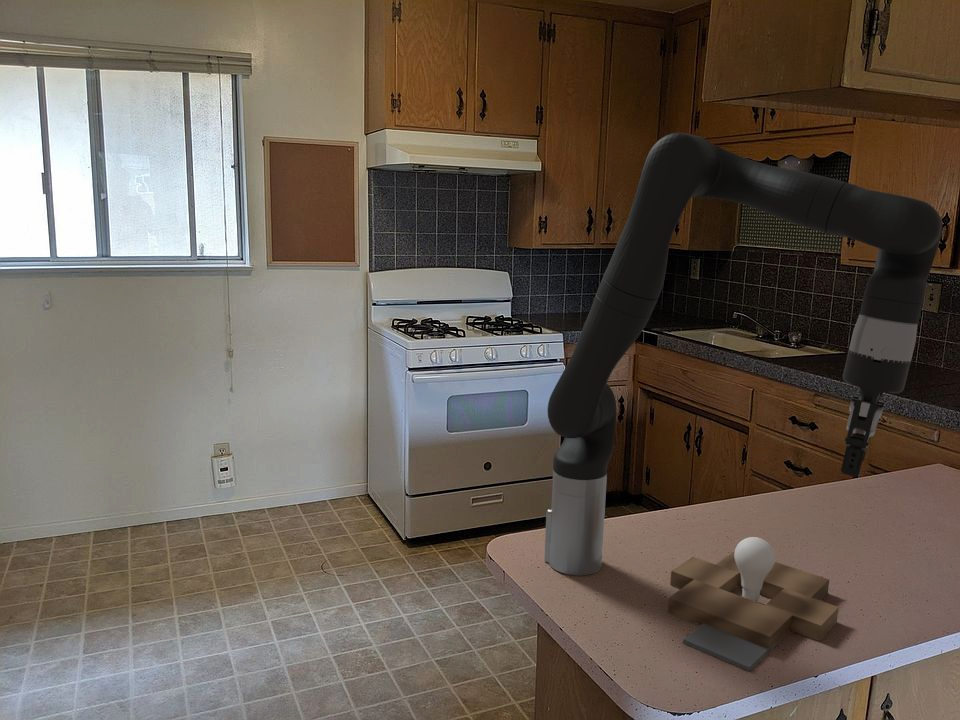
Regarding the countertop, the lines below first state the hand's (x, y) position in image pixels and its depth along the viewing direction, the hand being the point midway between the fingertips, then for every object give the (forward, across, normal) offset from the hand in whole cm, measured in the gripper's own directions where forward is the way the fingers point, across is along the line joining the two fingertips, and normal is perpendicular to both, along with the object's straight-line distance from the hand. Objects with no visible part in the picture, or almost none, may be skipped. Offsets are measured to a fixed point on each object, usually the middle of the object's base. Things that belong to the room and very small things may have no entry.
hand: (852, 467), depth 107 cm
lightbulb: (+29, -9, -10) cm, 32 cm away
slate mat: (+29, +5, -10) cm, 31 cm away
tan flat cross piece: (+28, -9, -10) cm, 31 cm away
